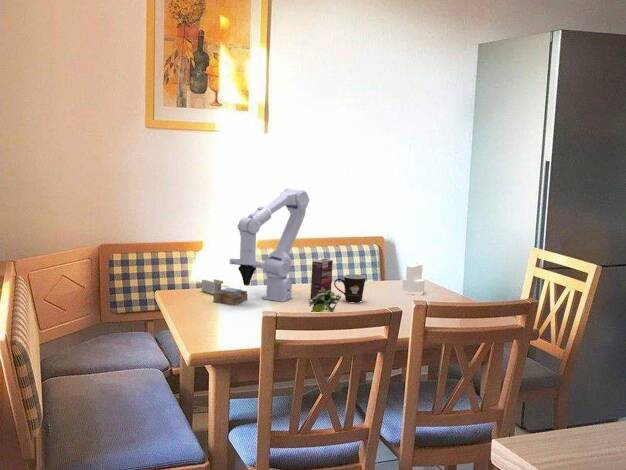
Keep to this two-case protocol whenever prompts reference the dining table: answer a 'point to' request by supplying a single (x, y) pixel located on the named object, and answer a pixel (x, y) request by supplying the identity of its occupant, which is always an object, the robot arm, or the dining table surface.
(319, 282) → the supplement box
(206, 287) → the key
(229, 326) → the dining table surface
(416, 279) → the base with upright slab
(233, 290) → the lid
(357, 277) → the coffee mug
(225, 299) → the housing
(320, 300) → the green leafy plant
